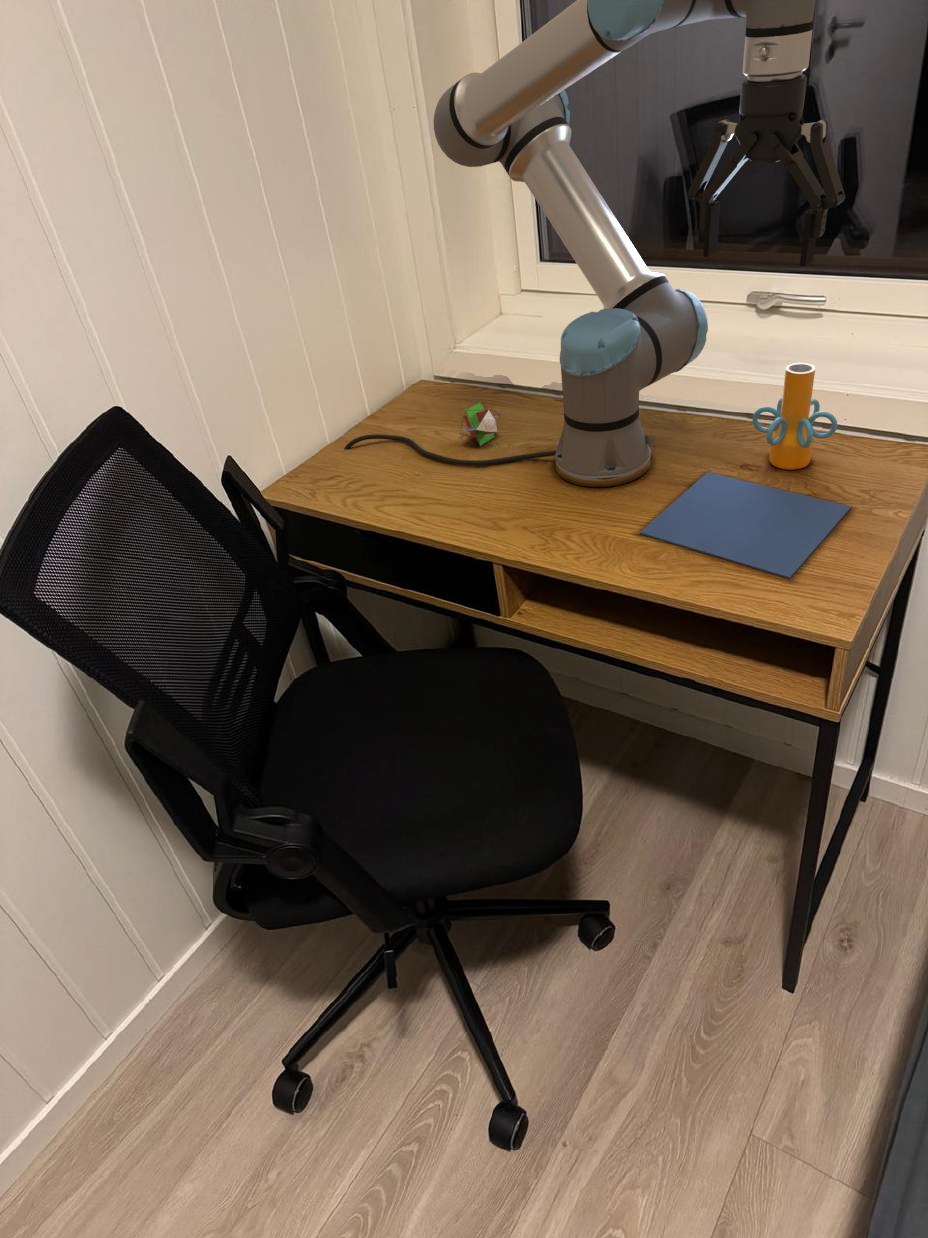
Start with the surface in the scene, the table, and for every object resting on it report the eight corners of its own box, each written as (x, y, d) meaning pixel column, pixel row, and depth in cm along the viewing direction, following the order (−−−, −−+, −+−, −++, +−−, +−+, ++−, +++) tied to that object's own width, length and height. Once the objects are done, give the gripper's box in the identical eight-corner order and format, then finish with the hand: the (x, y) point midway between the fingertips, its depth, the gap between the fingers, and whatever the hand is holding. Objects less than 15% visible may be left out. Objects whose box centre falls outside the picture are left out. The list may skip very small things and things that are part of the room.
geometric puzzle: (445, 431, 151) (461, 402, 145) (470, 415, 155) (487, 386, 149) (473, 460, 151) (490, 432, 144) (497, 443, 155) (515, 416, 148)
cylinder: (742, 449, 137) (749, 358, 128) (806, 439, 137) (818, 348, 128) (770, 484, 128) (780, 389, 119) (839, 474, 128) (854, 378, 119)
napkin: (639, 533, 121) (639, 532, 121) (707, 473, 133) (707, 471, 132) (789, 579, 109) (790, 577, 109) (851, 508, 120) (851, 506, 120)
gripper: (665, 83, 107) (660, 258, 121) (870, 78, 94) (839, 276, 107) (693, 72, 112) (685, 243, 125) (893, 66, 98) (860, 258, 111)
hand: (756, 258), depth 116 cm, fingers open, 13 cm apart
